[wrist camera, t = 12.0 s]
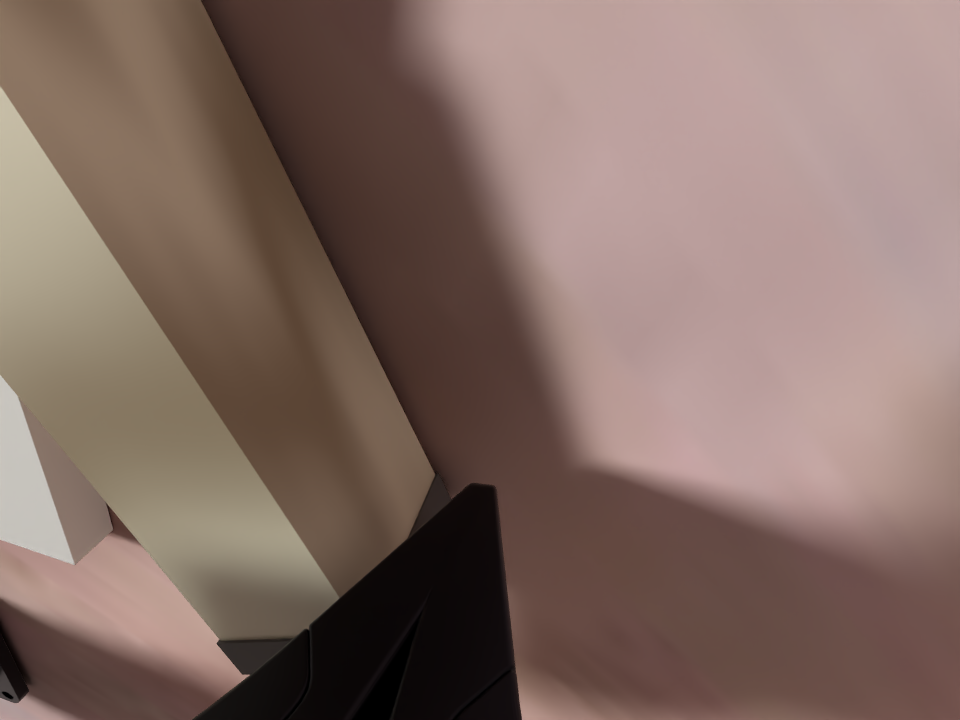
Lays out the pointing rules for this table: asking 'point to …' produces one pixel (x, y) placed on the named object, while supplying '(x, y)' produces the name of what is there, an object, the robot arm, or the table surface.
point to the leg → (191, 321)
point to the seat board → (44, 489)
